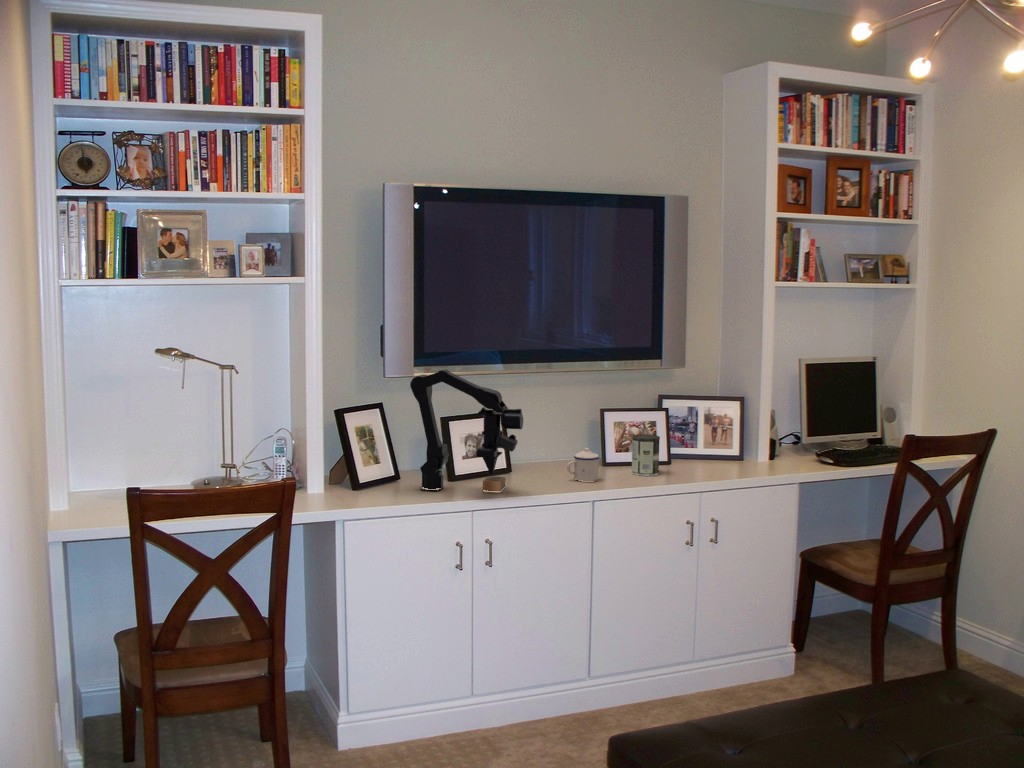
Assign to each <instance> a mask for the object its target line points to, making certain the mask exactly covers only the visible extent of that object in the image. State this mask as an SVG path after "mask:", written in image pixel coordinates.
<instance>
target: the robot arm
mask: <svg viewBox="0 0 1024 768" xmlns="http://www.w3.org/2000/svg"><path fill="white" fill-rule="evenodd" d="M440 383H444V384H446V385H448V386H450V387H452V388H454V389H456V390H457V391H460V392H462V393H464V394H466V395H468V396H470V397H472V398H473V399H474V400H476V401H477V403H479V404H480V405H481V406H483V407H482V408H481V409H480V410H479V411H478V412H477V415H480V416H483V431H481V435H482V436H483V439H482V441H483V443H481V447H479V448H478V449H476V455H475V456H476V458H482V459H483V462H484V464H485V466H486V468H487V470H488V473H489V475H493V474H494V473H495V468H496V464H497V460H498V458H499V457H500V456H501V455H502V454H503V453H504V452H503V451H499V449H503V450H507V451H508V452H513V451H515V450H516V446H517V445H518V439H517V435H514V434H513V433H512V434H510V435H509V436H508V435H504V434H503V433H504V431H503V430H501V426H502V427H503V428H504V429H507V430H522V429H523V427H524V416H523V411H522V408H516V409H515V408H508V406H507V405H506V403H505V402H504V401H503V396H502V393H501V392H499V391H498V390H495V389H492V388H490V387H484V386H480V385H477V384H476V383H473V382H471V381H470V380H467V379H465V378H463V377H461V376H459V375H457V374H455V373H453V372H451V371H450V370H449V369H446V368H445V369H441V370H439V371H438V372H435V373H432V374H429V375H426V374H420V375H418V376H414V377H413V378H412V379H411V381H410V382H409V384H410V389H411V392H412V394H413V396H414V398H415V399H416V402H417V403H418V407H419V410H420V415H421V416H420V417H421V420H422V424H423V429H424V433H425V438H426V442H427V445H426V451H425V453H426V462H425V463H423V465H421V466H420V468H419V469H420V471H421V488H422V487H424V488H428V489H436V488H442V487H443V488H444V475H443V471H442V469H443V468H444V467H443V466H445V465H446V464H447V463H448V462H449V461H448V460H449V456H450V453H449V450H448V444H447V443H445V444H443V442H442V440H441V438H440V434H439V429H438V426H437V420H436V416H435V411H434V406H433V402H432V401H433V399H432V398H433V386H435V385H437V384H440ZM443 488H442V489H443Z"/></svg>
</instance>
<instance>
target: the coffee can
mask: <svg viewBox="0 0 1024 768" xmlns="http://www.w3.org/2000/svg"><path fill="white" fill-rule="evenodd" d="M660 438H661V437H660V436H659V435H656V434H647V433H646V434H645V433H644V434H633V435H632V436H631V439H632V440H631V441H632V442H631V443H632V444H631V450H632V451H631V474H633V475H634V474H635V475H634V476H639V475H642V476H641V477H654V475H655V476H659V471H660V468H659V467H660Z"/></svg>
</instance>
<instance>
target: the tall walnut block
mask: <svg viewBox="0 0 1024 768" xmlns="http://www.w3.org/2000/svg"><path fill="white" fill-rule="evenodd" d="M504 487H505V488H506V477H505V476H490V475H489V476H487V477H486V478H485V479H483V480H482V491H483V490H486V491H487V490H488V491H501V490H502V489H503V488H504Z"/></svg>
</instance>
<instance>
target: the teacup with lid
mask: <svg viewBox="0 0 1024 768" xmlns="http://www.w3.org/2000/svg"><path fill="white" fill-rule="evenodd" d="M573 455H574V456H573V458H574V460H571V461H569V462H568V463H567V465H566V466H567V467H566V469H567V472H568V473H569V474H570V475H573V478H575V479H577V480H583V481H595V482H597V481H598V480H599V459H600V456H599V454H598V453H595V452H593V451H591V450H590V448H589V447H584V448H583V450H582V451H579V452H578V453H575V454H573ZM572 464H574V466H573V467H574V469H573V470H574V472H573V471H571V468H570V466H571V465H572ZM575 479H574V480H575ZM596 480H597V481H596Z"/></svg>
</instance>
